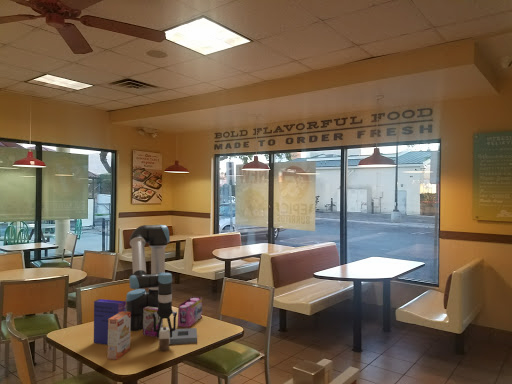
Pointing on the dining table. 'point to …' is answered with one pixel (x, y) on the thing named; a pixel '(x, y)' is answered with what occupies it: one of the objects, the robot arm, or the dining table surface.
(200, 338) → the dining table surface
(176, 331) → the port block
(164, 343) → the holster
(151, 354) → the dining table surface
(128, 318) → the cracker box
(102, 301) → the cereal box
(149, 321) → the candy bar box
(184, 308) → the gum box
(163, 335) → the plug
